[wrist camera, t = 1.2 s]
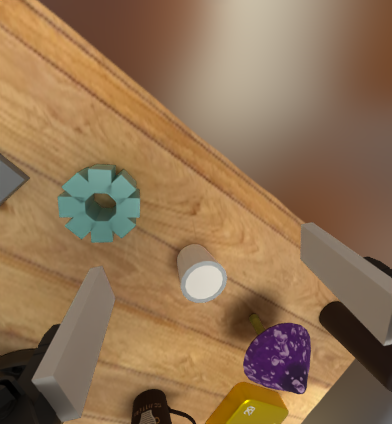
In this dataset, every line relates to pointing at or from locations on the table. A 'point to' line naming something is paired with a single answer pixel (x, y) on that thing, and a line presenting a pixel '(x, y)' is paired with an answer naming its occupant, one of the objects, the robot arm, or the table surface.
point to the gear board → (9, 179)
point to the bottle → (359, 341)
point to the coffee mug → (154, 409)
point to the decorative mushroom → (279, 356)
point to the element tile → (250, 406)
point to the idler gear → (91, 211)
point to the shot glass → (200, 274)
